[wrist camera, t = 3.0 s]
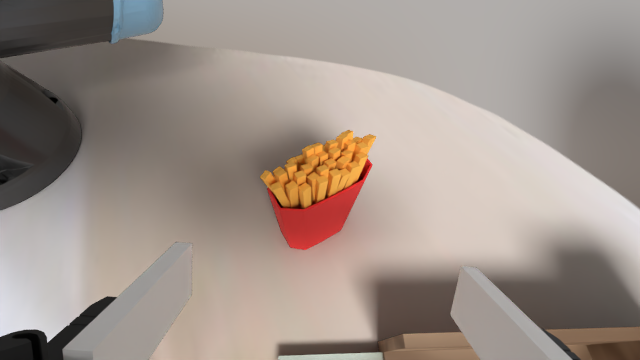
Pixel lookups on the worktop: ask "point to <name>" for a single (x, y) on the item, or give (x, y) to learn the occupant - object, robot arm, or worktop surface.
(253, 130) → the worktop surface
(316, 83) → the worktop surface
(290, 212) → the french fries
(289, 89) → the worktop surface
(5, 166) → the robot arm
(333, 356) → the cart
